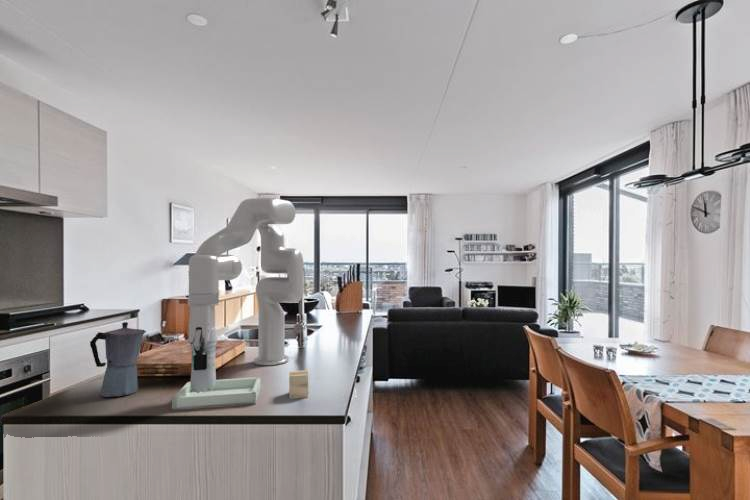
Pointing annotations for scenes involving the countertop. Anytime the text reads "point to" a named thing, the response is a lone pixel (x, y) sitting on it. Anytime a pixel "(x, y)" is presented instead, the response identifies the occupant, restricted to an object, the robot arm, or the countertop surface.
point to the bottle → (208, 376)
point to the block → (298, 384)
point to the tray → (219, 394)
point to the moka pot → (119, 360)
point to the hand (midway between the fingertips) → (203, 365)
